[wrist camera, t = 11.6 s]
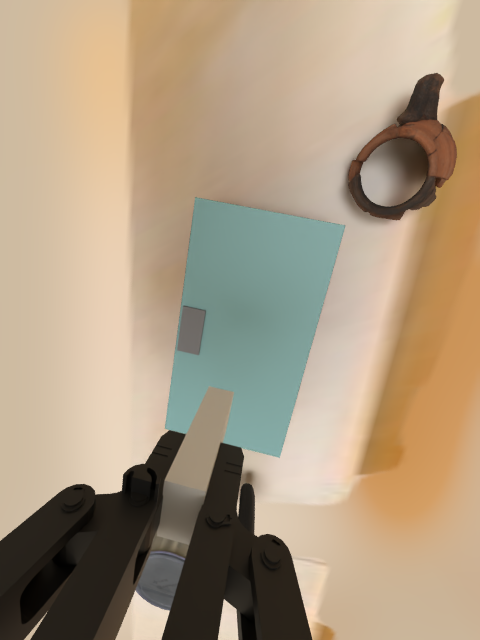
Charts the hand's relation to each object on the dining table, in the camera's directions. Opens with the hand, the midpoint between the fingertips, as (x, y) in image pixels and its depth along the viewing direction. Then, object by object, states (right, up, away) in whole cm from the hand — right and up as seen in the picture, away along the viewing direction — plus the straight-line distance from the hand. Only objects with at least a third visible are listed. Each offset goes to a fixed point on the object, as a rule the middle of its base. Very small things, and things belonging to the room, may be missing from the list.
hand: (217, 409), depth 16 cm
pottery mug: (+18, +22, +14) cm, 32 cm away
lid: (+2, +3, +13) cm, 14 cm away
